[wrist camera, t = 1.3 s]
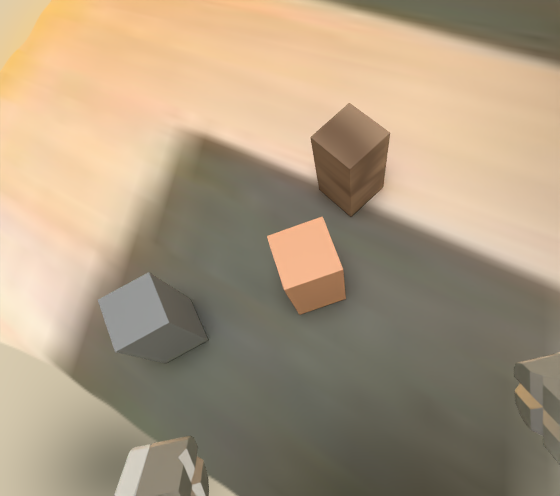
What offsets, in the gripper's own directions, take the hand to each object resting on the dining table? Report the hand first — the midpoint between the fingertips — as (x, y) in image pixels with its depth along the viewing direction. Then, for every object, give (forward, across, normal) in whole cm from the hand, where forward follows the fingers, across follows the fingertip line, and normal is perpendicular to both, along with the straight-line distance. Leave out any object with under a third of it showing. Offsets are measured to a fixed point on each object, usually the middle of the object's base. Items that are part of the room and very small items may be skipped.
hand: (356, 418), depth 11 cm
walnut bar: (+33, -7, +3) cm, 34 cm away
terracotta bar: (+28, -1, +10) cm, 29 cm away
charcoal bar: (+27, +13, +11) cm, 32 cm away
